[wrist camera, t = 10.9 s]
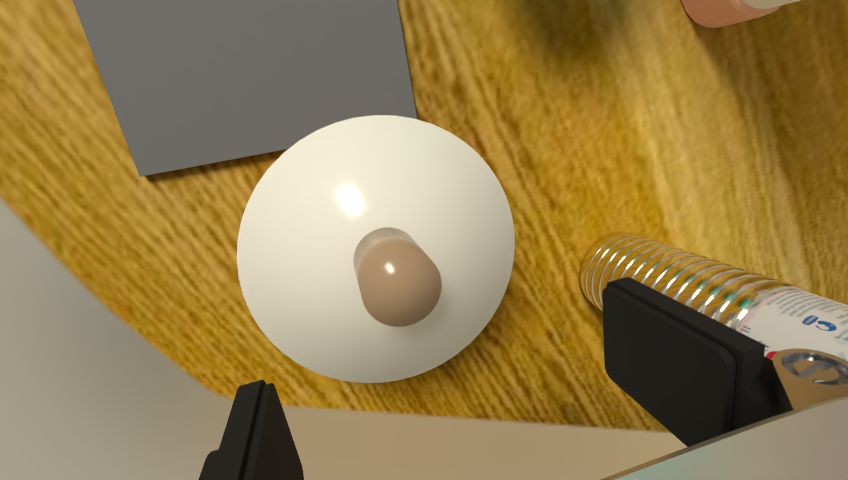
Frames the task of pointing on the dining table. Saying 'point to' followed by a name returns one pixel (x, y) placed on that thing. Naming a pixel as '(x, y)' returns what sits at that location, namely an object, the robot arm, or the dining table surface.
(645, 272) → the water bottle
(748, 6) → the pepper shaker
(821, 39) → the dining table surface
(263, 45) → the mat
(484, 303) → the lid
